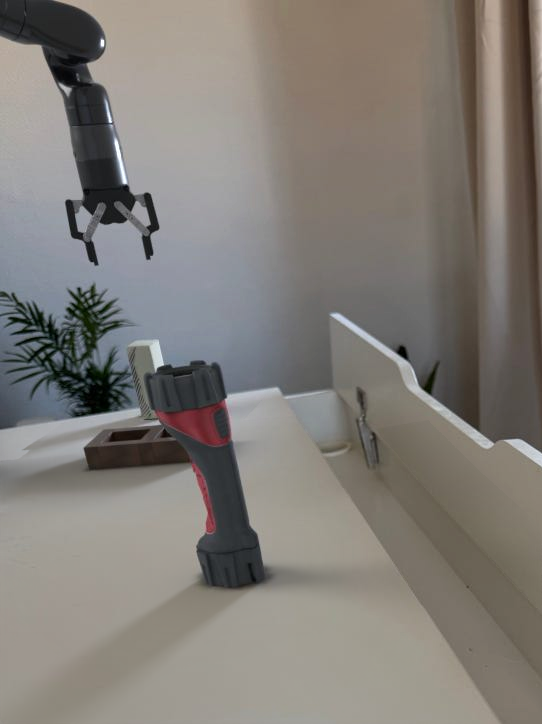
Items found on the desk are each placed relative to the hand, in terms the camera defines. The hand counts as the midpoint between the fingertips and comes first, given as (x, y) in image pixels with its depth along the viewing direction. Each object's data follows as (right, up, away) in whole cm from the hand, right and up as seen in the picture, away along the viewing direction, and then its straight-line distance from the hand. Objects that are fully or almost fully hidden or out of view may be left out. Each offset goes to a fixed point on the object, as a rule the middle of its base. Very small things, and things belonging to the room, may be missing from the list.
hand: (122, 262), depth 166 cm
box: (+3, -24, +9) cm, 26 cm away
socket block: (+11, -36, -16) cm, 41 cm away
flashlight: (+33, -58, -60) cm, 90 cm away
